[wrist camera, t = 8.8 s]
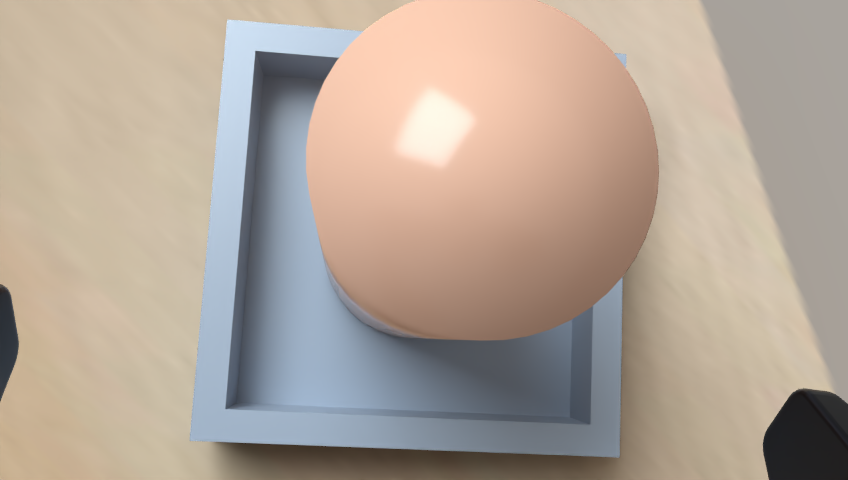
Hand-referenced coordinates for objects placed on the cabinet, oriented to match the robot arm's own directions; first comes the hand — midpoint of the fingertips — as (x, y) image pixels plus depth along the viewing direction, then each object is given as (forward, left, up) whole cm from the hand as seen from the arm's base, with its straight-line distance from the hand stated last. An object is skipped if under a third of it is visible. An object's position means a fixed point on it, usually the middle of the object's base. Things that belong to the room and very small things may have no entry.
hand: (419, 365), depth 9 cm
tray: (+3, -1, -14) cm, 14 cm away
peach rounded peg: (+3, -1, -13) cm, 13 cm away
